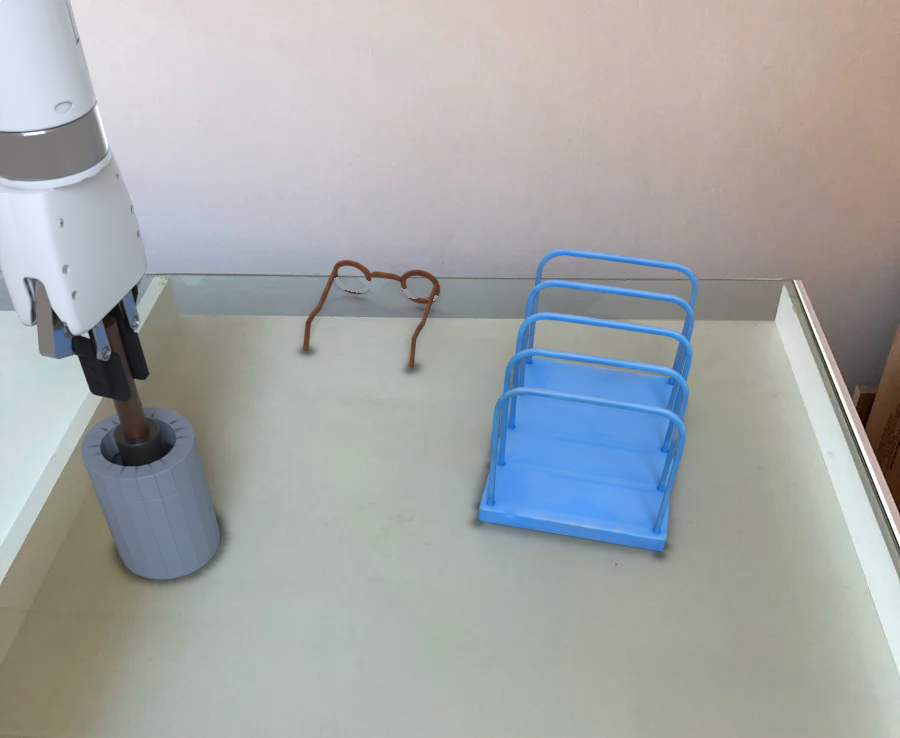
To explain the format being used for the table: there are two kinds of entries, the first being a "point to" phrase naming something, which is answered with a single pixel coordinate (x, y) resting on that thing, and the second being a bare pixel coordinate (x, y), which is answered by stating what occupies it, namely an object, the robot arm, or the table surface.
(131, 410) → the brown and grey pestle
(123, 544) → the pen holder
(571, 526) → the file sorter
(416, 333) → the glasses
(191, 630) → the table surface
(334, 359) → the table surface
